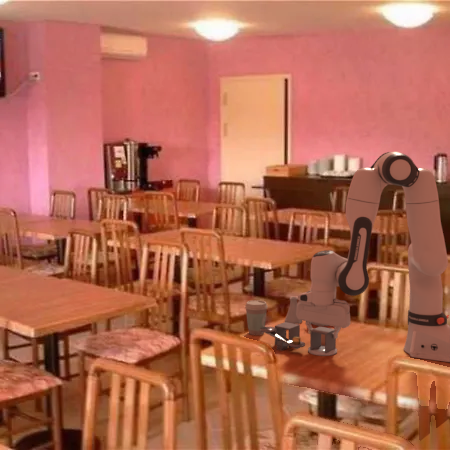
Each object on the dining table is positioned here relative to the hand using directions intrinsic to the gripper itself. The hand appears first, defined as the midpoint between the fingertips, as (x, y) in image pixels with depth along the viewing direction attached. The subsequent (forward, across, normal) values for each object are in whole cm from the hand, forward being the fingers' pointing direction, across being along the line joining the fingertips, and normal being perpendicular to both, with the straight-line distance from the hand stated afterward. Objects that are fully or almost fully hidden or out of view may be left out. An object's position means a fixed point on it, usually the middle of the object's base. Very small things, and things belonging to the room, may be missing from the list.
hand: (322, 335), depth 269 cm
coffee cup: (+6, +32, -5) cm, 33 cm away
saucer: (+6, 0, 0) cm, 6 cm away
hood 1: (+6, +15, 0) cm, 16 cm away
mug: (+6, +18, -32) cm, 37 cm away
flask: (+6, +30, -26) cm, 40 cm away
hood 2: (+5, 0, 0) cm, 5 cm away
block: (+6, +4, -9) cm, 11 cm away
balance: (+6, +13, +6) cm, 15 cm away
